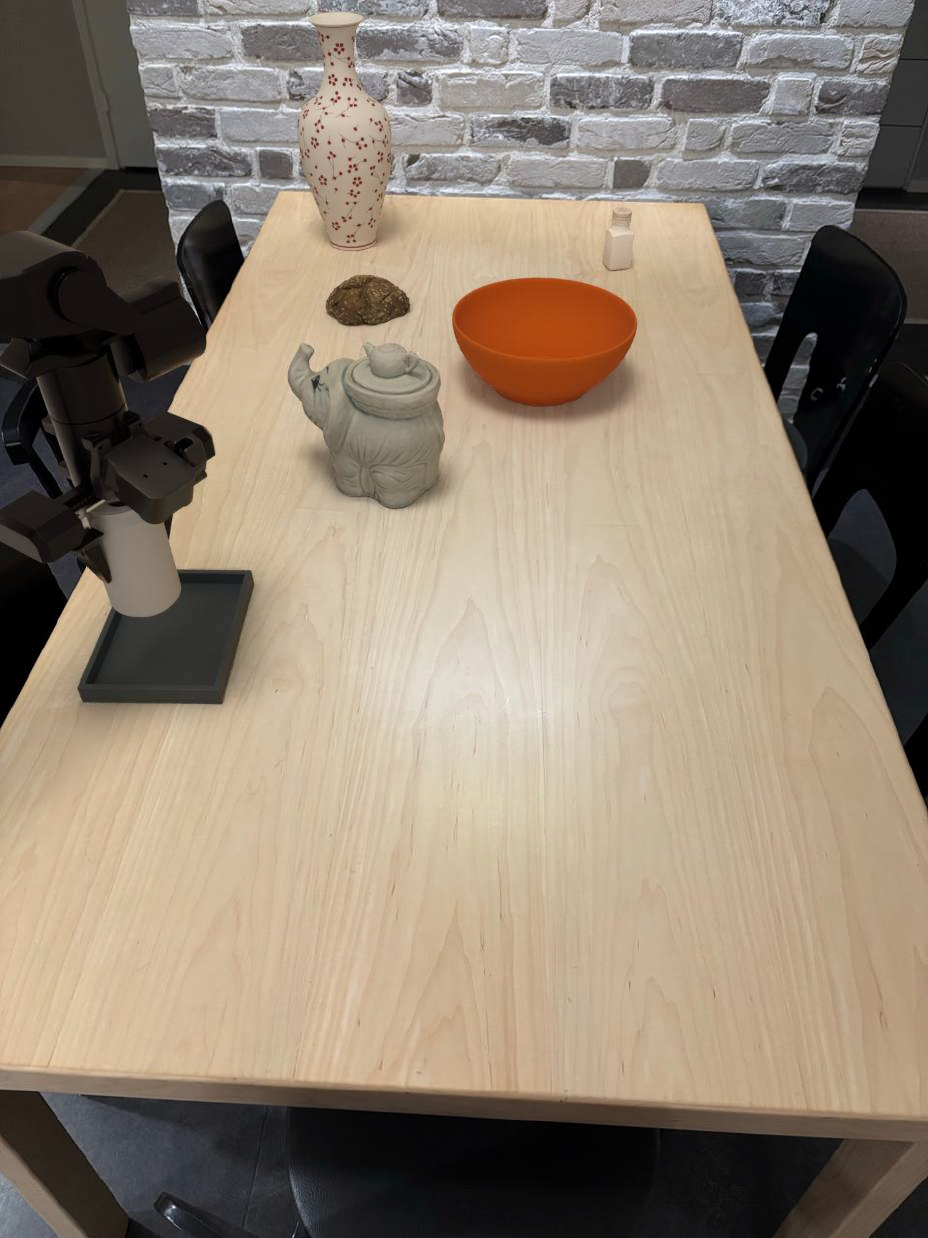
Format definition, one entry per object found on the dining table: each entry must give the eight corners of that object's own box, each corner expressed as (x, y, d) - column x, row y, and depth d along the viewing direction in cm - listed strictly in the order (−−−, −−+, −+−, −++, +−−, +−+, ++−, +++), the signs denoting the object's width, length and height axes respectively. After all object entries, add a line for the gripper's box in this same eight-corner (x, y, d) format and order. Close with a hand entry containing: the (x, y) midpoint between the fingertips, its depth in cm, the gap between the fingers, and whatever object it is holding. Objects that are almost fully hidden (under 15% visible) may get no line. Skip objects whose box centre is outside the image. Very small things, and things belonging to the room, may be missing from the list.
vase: (363, 266, 160) (347, 32, 136) (291, 247, 166) (262, 20, 142) (413, 235, 170) (406, 13, 146) (343, 219, 176) (325, 3, 152)
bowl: (571, 328, 143) (577, 265, 136) (663, 403, 126) (674, 336, 119) (424, 361, 135) (422, 295, 128) (501, 446, 118) (504, 376, 112)
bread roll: (370, 285, 154) (368, 256, 150) (420, 308, 148) (419, 278, 144) (310, 309, 147) (307, 279, 144) (361, 334, 141) (358, 303, 138)
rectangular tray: (222, 704, 86) (218, 690, 85) (82, 702, 86) (76, 688, 85) (254, 583, 99) (251, 569, 97) (132, 582, 99) (128, 568, 97)
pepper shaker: (601, 262, 161) (607, 206, 155) (622, 260, 162) (629, 205, 156) (609, 271, 159) (615, 215, 152) (630, 269, 159) (638, 213, 153)
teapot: (296, 459, 116) (276, 318, 103) (405, 432, 121) (399, 294, 108) (340, 532, 105) (324, 385, 92) (458, 499, 110) (458, 355, 97)
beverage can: (146, 632, 81) (112, 526, 73) (96, 605, 84) (58, 500, 76) (197, 591, 85) (170, 487, 77) (148, 567, 88) (117, 463, 79)
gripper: (59, 498, 62) (117, 659, 72) (247, 383, 73) (274, 536, 84) (-44, 449, 66) (25, 607, 77) (149, 347, 78) (186, 497, 88)
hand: (135, 560), depth 81 cm, fingers closed on beverage can, 6 cm apart
